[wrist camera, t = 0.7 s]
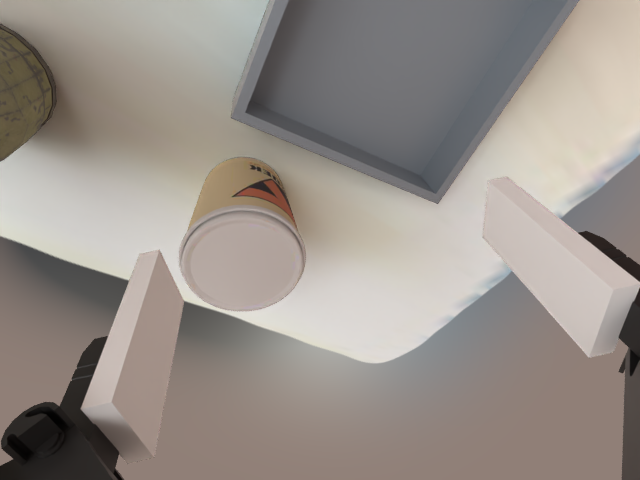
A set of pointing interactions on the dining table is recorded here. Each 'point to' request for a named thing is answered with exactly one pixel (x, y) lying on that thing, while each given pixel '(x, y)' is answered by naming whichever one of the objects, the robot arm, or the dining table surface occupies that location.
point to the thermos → (22, 92)
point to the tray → (392, 79)
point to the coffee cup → (242, 239)
